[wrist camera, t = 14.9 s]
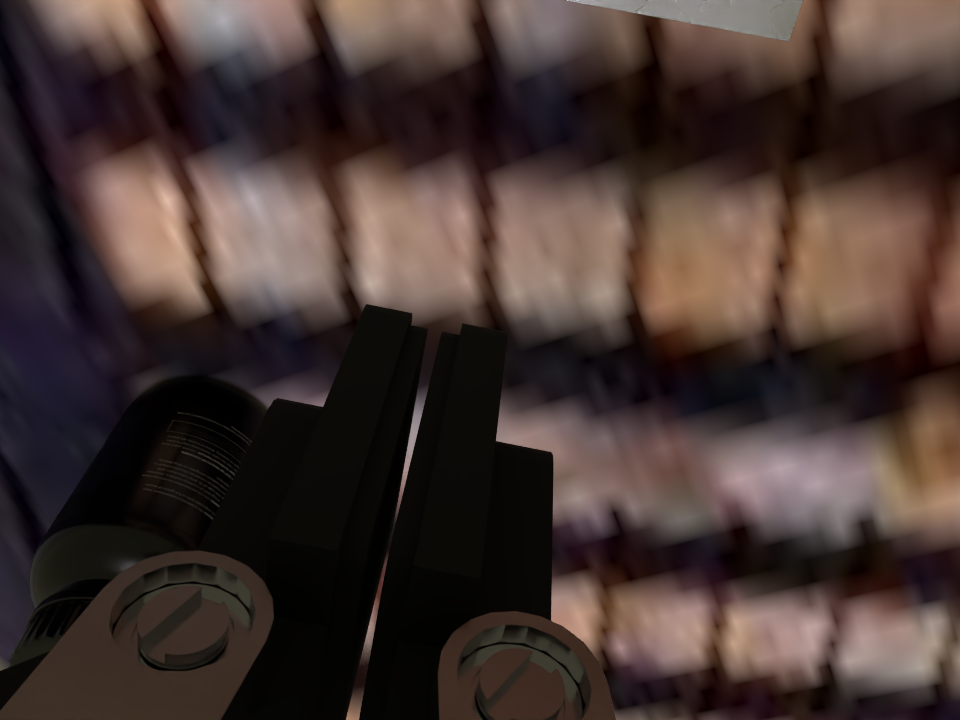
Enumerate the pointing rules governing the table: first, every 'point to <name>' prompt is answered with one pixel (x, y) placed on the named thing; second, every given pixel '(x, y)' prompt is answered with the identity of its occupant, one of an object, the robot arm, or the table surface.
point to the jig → (718, 13)
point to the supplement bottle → (138, 499)
